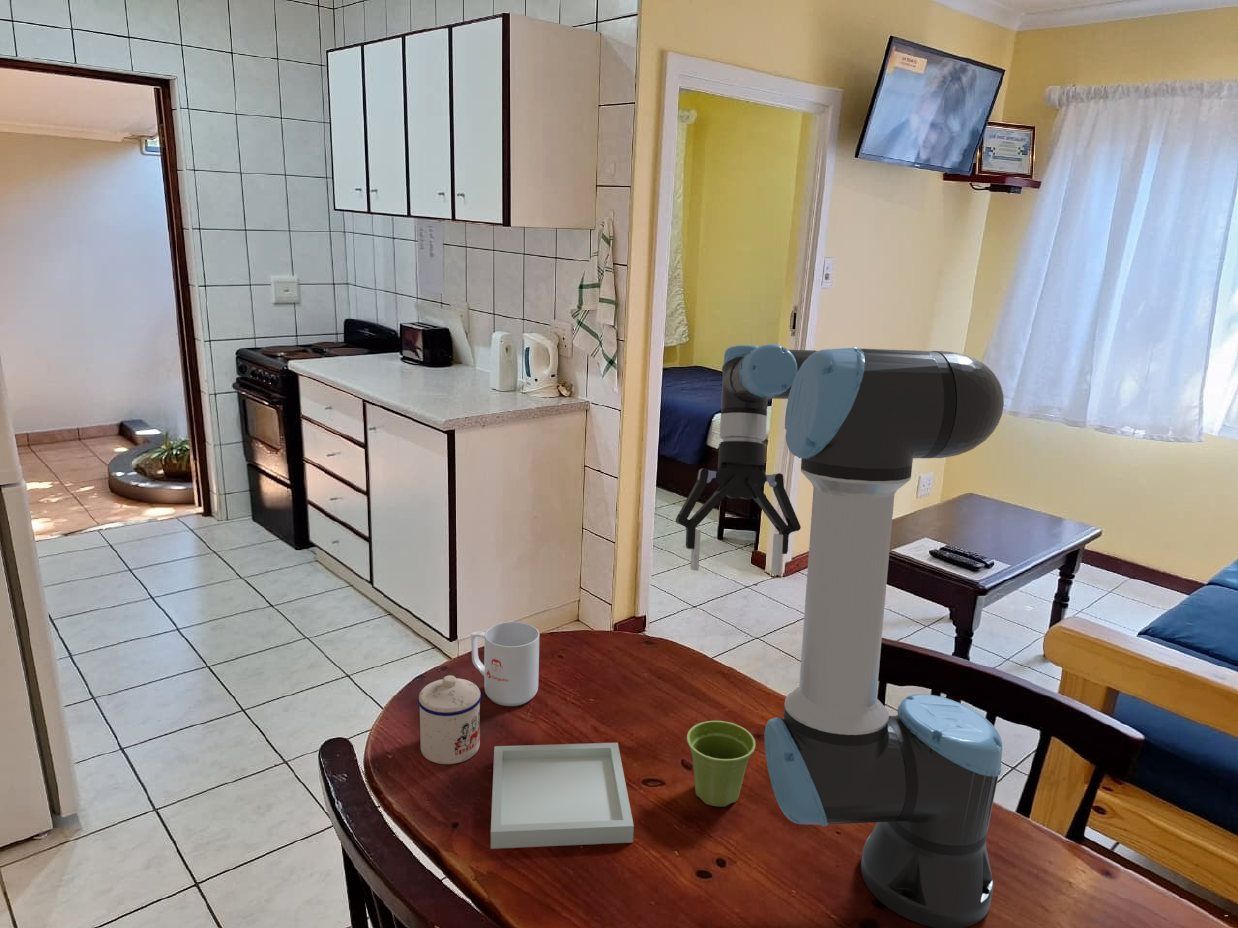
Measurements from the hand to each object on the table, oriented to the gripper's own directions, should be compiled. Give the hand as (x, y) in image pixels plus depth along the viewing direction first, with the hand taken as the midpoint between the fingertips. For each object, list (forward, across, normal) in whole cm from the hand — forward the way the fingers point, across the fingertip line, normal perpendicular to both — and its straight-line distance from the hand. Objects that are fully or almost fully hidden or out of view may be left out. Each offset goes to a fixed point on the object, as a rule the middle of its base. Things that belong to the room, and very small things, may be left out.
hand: (735, 572), depth 138 cm
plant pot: (+30, +6, +16) cm, 35 cm away
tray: (+31, +28, +17) cm, 45 cm away
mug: (+23, +36, -10) cm, 44 cm away
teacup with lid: (+28, +43, +3) cm, 51 cm away
